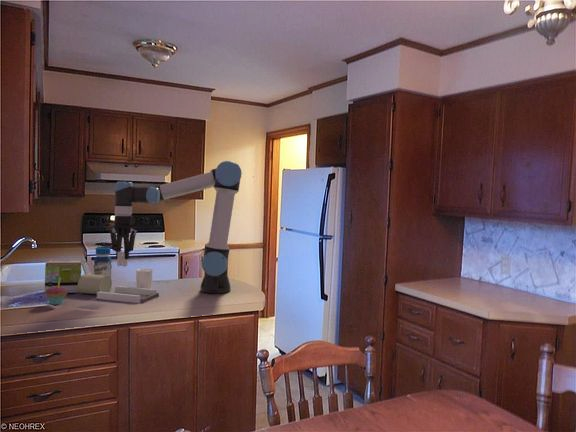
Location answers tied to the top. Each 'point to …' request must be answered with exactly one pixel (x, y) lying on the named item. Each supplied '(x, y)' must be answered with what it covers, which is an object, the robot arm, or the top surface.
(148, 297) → the trap pocket
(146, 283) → the white cup
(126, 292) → the tube channel
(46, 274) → the tea box
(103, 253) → the beverage bottle
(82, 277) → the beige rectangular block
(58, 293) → the cupcake
